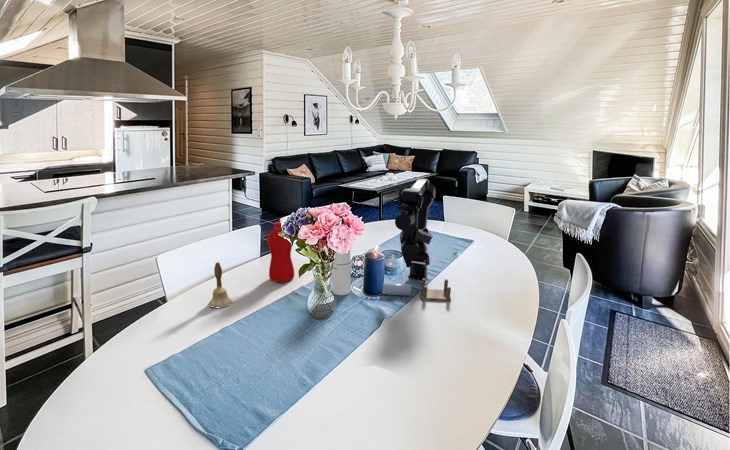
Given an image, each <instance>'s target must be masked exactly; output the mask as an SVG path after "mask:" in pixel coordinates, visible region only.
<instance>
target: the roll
mask: <svg viewBox="0 0 730 450" xmlns="http://www.w3.org/2000/svg"><path fill="white" fill-rule="evenodd" d="M383 294H388V295H387V296H407V297H409V296H412V284H410V283H408V284H407V283H385V282H383V283H382V295H383Z"/></svg>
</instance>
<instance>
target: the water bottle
mask: <svg viewBox="0 0 730 450" xmlns="http://www.w3.org/2000/svg"><path fill="white" fill-rule="evenodd" d="M280 222H281V221H275V222H274V223H273V228H274V229H273V230H271V231H269V233H268V235H267V241H266V242H267V246H268V248H269V251H270V256H271V258H270V263H269V271H268V276H269V280H271V281H273V282H276V283H279V284H285V283H288V282H289V281H291V280H293V279H294V277H295V268H294V264H293V260H292V256H291V255H292V253H291V252H292V248H293V244H292V245H291V243H290V242H289V241H288V240H287V239H284V238H283V237H281V236H279V235H278V232H281V231H282V228H281V223H280Z"/></svg>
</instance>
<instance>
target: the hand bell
mask: <svg viewBox="0 0 730 450" xmlns="http://www.w3.org/2000/svg"><path fill="white" fill-rule="evenodd" d="M213 270H214V276H215V279H216V288H214V289H213V291H212V297H211V300H209V302H208V306H209V305H210V306H213V307H224V308H226V307H225V306H227V307H229V306H230V305H229V304H231V303H232V304H233V299H232V298H231V297H229V295H228V292H227V289H226V288H225V287H223V286H222V285H223V283H222V275H223V270H222V266H221V263H220V262H219V261H217V262H215V265H214V269H213ZM232 304H231V305H232ZM228 305H229V306H228Z"/></svg>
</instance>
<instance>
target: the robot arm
mask: <svg viewBox="0 0 730 450" xmlns="http://www.w3.org/2000/svg"><path fill="white" fill-rule="evenodd" d="M436 191H437V190H436V186H435V185H433V184H432V183H431V182H430V180H429V179H426V178H416V180H415V182H414V183H413V185H412V186H411V187H410V188H404V189H403V190H402V191H401V192H400V194H399V199H398V202H397V207H396V209H397V210H399V211H400V213H399V214H398V215H397V216H396V218H395V220H394V225H395V226H396V227H395V228H397V229H398V230H400V231H401V232H400V233H399V242H400V253H401V255H402V258H403V261H404V262H405V265H406V268H409V274H408V276H407V277H408V278H410V279H415V280H420V281H422V278H423V279H426V277H427V276H428V266H430V263H431V260H430V255H429V252H428V246H427V245H430V244H431V241H432V239H433V234H432V233H431V232H429V228H427V224H428V215H429V211H430V210H429V208H430V207H431V206H432V205H433V204H434V199H436V194H437V193H436Z"/></svg>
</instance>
